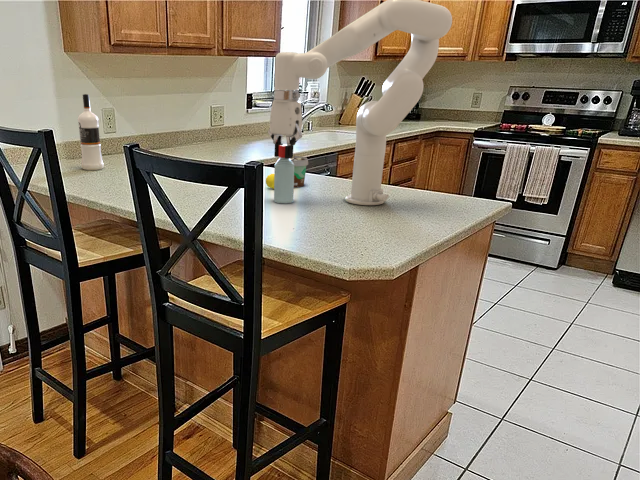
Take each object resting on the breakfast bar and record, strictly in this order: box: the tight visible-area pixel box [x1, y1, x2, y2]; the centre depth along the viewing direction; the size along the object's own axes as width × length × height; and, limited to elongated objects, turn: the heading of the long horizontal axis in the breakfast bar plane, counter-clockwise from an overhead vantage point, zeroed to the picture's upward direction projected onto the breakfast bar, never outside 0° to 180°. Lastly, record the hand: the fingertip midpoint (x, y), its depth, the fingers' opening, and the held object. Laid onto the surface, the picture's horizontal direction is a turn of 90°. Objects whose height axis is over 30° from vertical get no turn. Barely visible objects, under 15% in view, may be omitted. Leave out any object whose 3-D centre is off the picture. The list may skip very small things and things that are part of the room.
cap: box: [278, 144, 287, 158], centre depth 168 cm, size 4×4×4 cm
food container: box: [291, 155, 309, 188], centre depth 197 cm, size 12×6×10 cm, turn 168°
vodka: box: [77, 93, 105, 171], centre depth 220 cm, size 9×9×30 cm
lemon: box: [265, 173, 274, 190], centre depth 192 cm, size 7×5×5 cm
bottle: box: [273, 157, 295, 204], centre depth 171 cm, size 6×6×18 cm
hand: (283, 156), depth 169 cm, fingers closed on cap, 3 cm apart
